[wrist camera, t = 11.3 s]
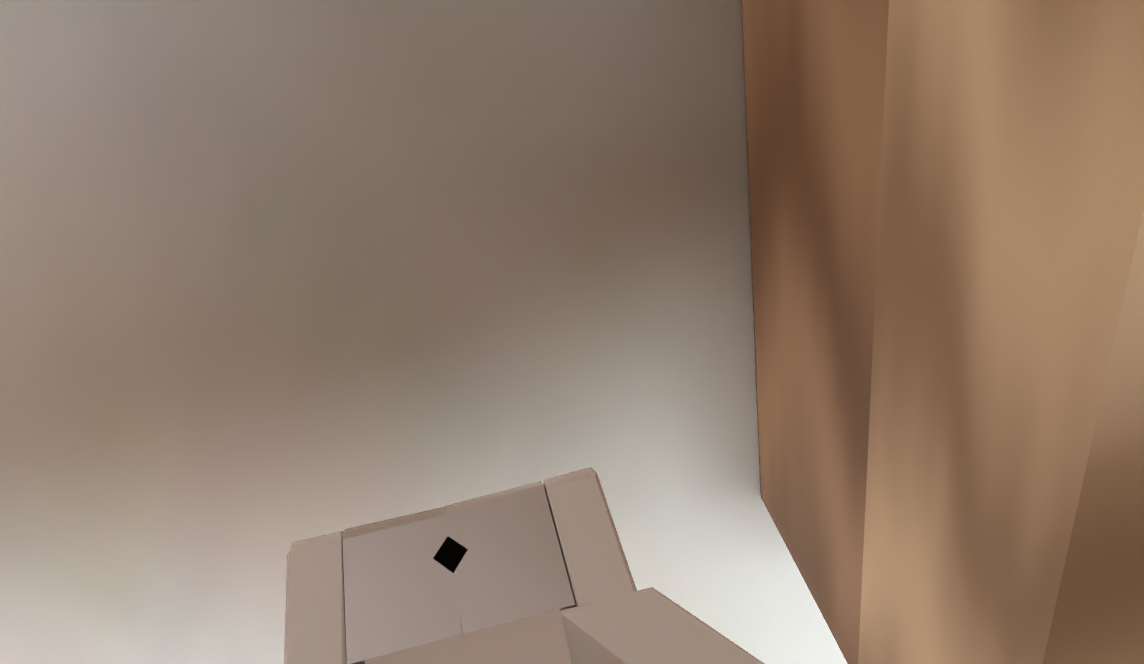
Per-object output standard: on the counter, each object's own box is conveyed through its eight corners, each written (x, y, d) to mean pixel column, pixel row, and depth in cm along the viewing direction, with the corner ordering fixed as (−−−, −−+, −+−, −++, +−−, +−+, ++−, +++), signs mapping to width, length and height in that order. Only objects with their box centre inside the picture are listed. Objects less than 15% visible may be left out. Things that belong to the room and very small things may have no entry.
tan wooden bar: (900, -243, 8) (1226, -175, 5) (1250, -308, 8) (1747, -281, 5) (857, 681, 15) (984, 925, 12) (1046, 629, 15) (1214, 856, 12)
